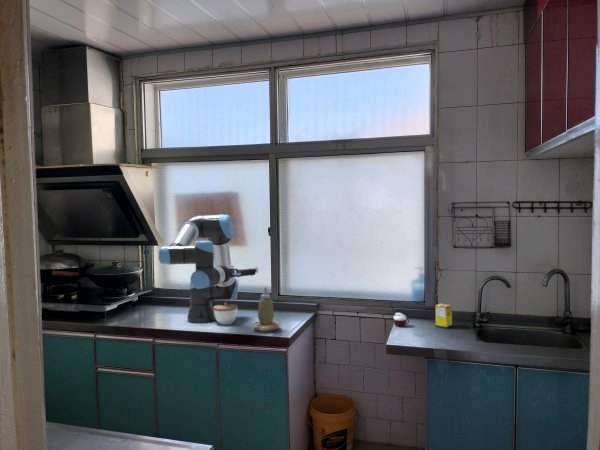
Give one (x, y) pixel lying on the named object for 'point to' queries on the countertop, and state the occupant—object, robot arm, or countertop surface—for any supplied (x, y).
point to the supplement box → (443, 315)
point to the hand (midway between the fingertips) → (245, 268)
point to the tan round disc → (266, 326)
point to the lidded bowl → (225, 313)
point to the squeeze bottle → (265, 309)
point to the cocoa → (399, 319)
